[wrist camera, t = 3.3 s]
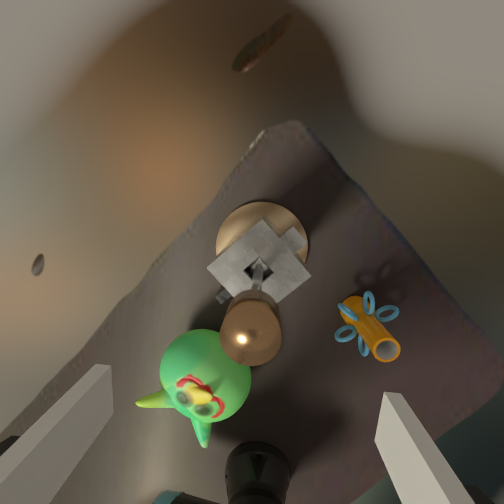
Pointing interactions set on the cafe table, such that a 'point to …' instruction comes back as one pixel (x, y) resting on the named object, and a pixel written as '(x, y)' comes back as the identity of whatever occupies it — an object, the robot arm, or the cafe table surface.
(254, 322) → the plunger
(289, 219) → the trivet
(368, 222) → the cafe table surface
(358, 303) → the cylinder
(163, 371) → the toy bird
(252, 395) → the cafe table surface
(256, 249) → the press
